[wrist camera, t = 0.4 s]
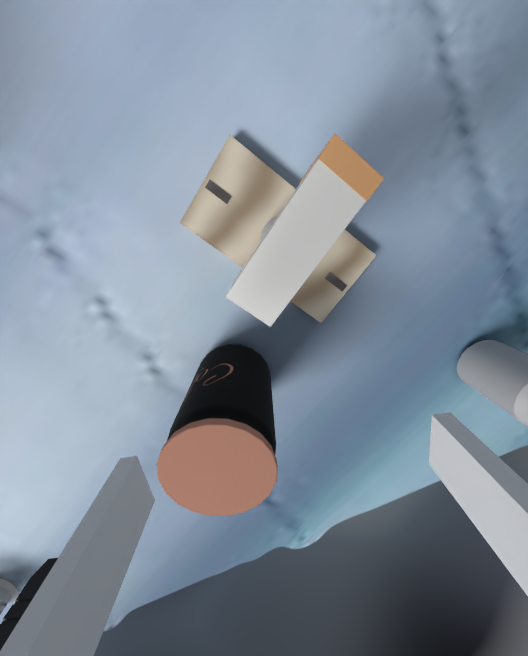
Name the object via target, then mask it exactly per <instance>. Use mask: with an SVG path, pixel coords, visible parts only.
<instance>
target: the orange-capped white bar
mask: <svg viewBox="0 0 528 656" xmlns="http://www.w3.org/2000/svg"><path fill="white" fill-rule="evenodd" d="M383 179H384V178H383V177H382V176H381V175H380V174H379V173H378V172H377V171H376V170H375V169H374V168H372V167H371V166H370V165H369V164H368V163H367V162H366V161H365V160H364V159H363V158H361V157H360V156H359V155H358V154H357V153H356V152H355V151H354V150H353V149H352V148H351V147H349V146H348V145H347V144H346V143H345V142H344V141H343V140H342V139H341V138H340V137H339V136H337V135H336V134H334V135H333V137H332V138H331V139H330V141H329V142H328V143H327V145H326V146H325V148H324V149H323V150H322V152H321V153H320V154H319V156H318V157H317V158H316V160H315V161H314V162H313V164H312V165H311V166H310V168H309V169H308V171H307V172H306V174H305V175H304V177H303V178H302V180H301V181H300V184H299V185H298V187H297V188H296V190H295V191H294V193H293V194H292V196H291V197H290V199H289V200H288V202H287V203H286V205H285V206H284V207H283V209H282V210H281V212H280V213H279V215H278V216H277V218H276V219H275V221H274V222H273V224H272V225H271V227H270V228H269V230H268V231H267V233H266V234H265V236H264V237H263V239H262V240H261V242H260V243H259V245H258V246H257V248H256V249H255V251H254V252H253V254H252V255H251V256H250V258H249V259H248V261H247V262H246V264H245V265H244V267H243V268H242V270H241V271H240V273H239V274H238V276H237V277H236V279H235V280H234V282H233V284H232V286H231V288H230V289H229V291H228V293H227V295H226V298H228V299H229V300H231V301H232V302H234V303H235V304H237V305H238V306H240V307H241V308H243V309H244V310H246V311H247V312H249V313H250V314H252V315H253V316H255V317H256V318H258V319H259V320H261V321H262V322H264V323H265V324H267V325H268V326H270V327H271V326H272V324H273V323H274V322H275V320H276V319H277V318H278V316H279V315H280V314H281V312H282V311H283V310H284V308H285V307H286V306H287V304H288V303H289V302H290V300H291V299H292V298H293V297H294V295H295V294H296V293H297V291H298V290H299V289H300V287H301V286H302V285H303V283H304V282H305V281H306V279H307V278H308V277H309V275H310V274H311V273H312V271H313V270H314V269H315V268H316V266H317V265H318V264H319V262H320V261H321V260H322V258H323V257H324V256H325V254H326V253H327V252H328V250H329V249H330V248H331V246H332V245H333V244H334V242H335V241H336V240H337V239H338V237H339V236H340V235H341V233H342V232H343V231H344V229H345V228H346V227H347V225H348V224H349V223H350V221H351V220H352V219H353V217H354V216H355V215H356V213H357V212H358V211H359V210H360V208H361V207H362V206H363V204H364V203H365V202H366V201H367V200H368V199H369V198H370V197H371V195H372V194H373V193H374V191H375V190H376V189H377V187H378V186H379V185H380V183H381V182H382V181H383Z"/></svg>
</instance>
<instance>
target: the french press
mask: <svg viewBox="0 0 528 656" xmlns="http://www.w3.org/2000/svg"><path fill="white" fill-rule="evenodd" d="M17 597H18V590H17V589H16V587H15V586H14V585H13V584H11V583H10V582H9V581H7V580H4V579H2V578H0V614H1V613H2V611H3V610H4V608H5V606H6V605H7V604H10V603H12V602H13V601H15V600H16V599H17Z"/></svg>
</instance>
